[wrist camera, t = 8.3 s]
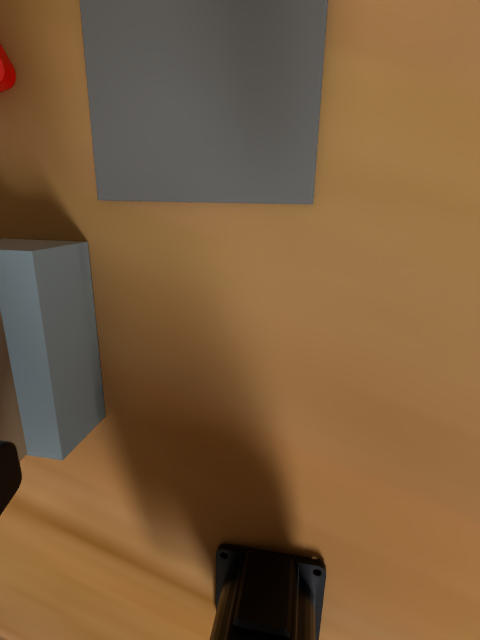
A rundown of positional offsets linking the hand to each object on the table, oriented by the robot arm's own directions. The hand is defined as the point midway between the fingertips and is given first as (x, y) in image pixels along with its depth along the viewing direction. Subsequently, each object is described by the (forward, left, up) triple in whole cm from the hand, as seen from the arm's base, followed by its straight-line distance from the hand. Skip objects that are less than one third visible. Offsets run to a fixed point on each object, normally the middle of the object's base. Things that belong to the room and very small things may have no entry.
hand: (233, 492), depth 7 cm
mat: (+10, +4, -12) cm, 16 cm away
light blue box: (-2, +15, -12) cm, 19 cm away
